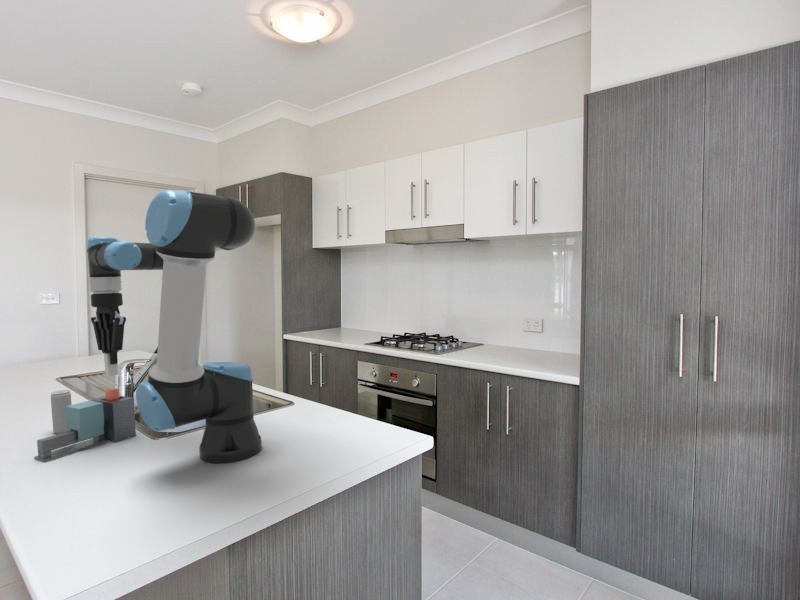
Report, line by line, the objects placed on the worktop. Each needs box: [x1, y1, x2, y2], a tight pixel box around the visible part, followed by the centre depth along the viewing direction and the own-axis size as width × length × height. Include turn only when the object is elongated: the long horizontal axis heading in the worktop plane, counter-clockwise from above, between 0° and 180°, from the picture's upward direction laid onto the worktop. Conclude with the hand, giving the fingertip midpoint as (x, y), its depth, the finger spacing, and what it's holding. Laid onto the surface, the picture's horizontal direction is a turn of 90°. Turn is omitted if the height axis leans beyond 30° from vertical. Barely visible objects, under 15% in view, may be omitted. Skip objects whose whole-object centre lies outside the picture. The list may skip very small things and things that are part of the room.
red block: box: [104, 388, 121, 402], centre depth 132 cm, size 3×3×5 cm
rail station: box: [33, 395, 137, 463], centre depth 125 cm, size 10×22×11 cm, turn 153°
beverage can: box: [50, 389, 72, 435], centre depth 137 cm, size 5×5×12 cm
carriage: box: [66, 400, 104, 442], centre depth 125 cm, size 6×6×9 cm
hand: (112, 375), depth 131 cm, fingers closed
